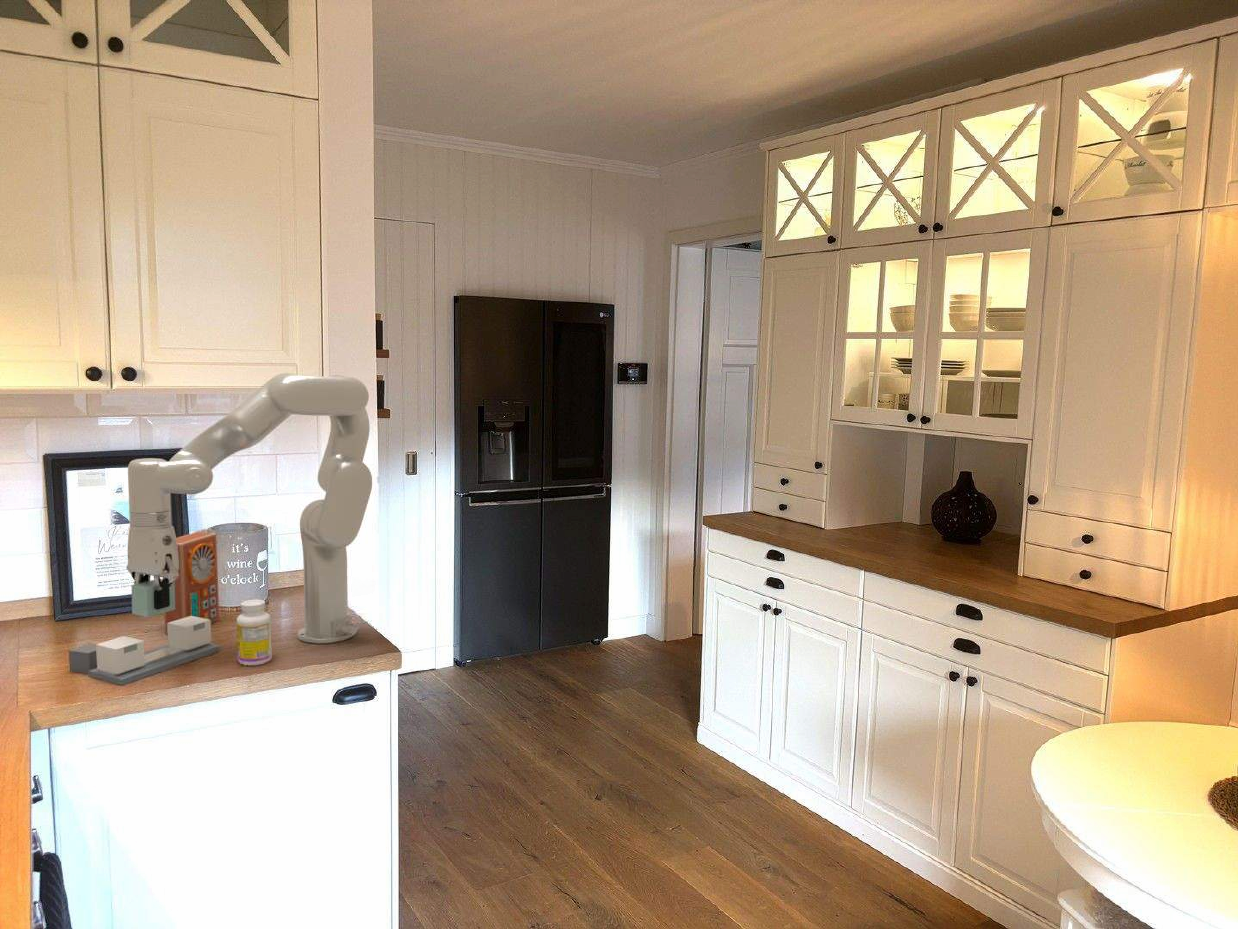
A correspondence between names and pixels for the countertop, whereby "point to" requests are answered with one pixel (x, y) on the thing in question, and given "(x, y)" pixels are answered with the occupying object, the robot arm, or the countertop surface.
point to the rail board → (155, 665)
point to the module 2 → (149, 599)
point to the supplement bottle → (254, 633)
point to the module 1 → (83, 658)
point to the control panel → (196, 578)
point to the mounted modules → (131, 651)
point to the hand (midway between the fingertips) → (153, 605)
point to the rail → (157, 657)
